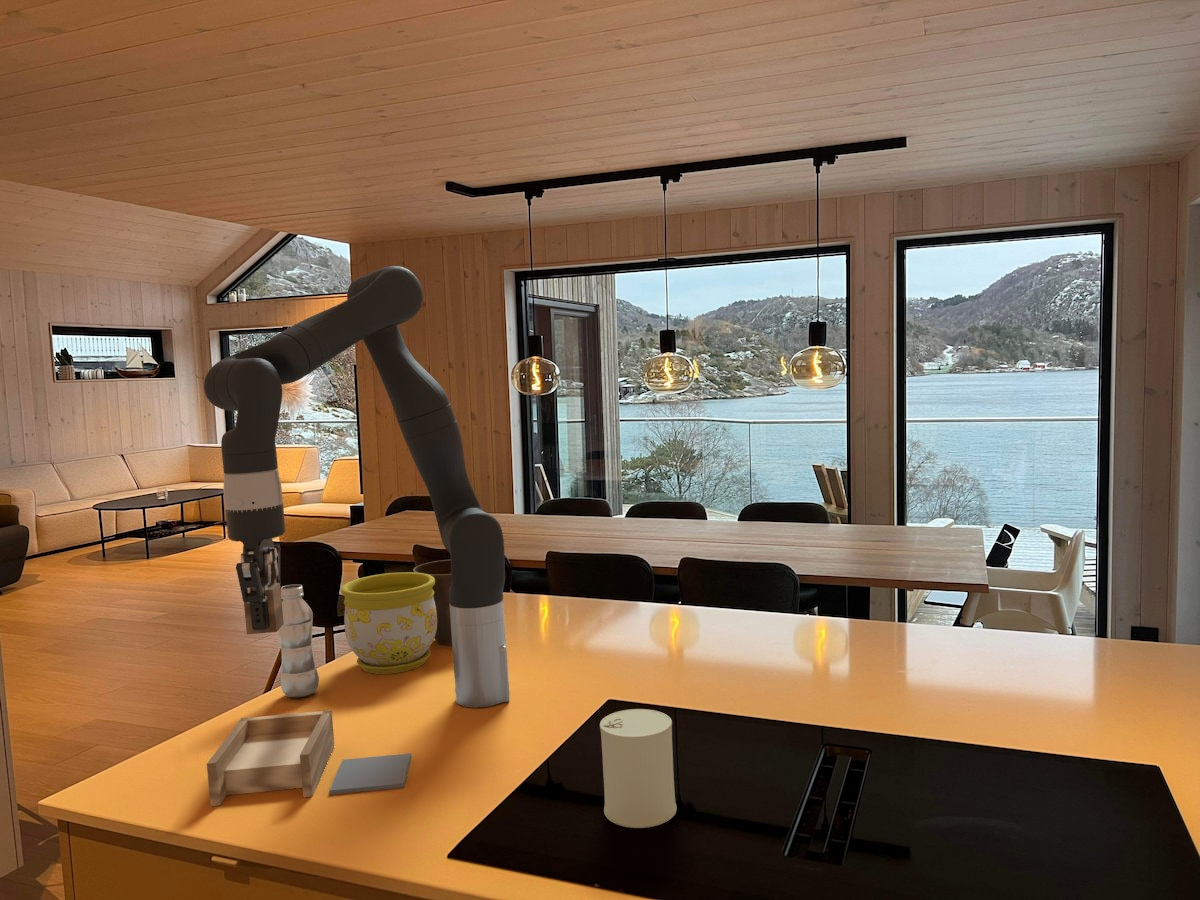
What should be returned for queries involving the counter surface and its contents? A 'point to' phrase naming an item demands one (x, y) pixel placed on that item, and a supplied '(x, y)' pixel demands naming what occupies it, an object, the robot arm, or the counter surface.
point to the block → (273, 610)
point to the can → (638, 768)
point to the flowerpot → (390, 620)
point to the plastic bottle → (297, 644)
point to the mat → (371, 774)
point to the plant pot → (440, 596)
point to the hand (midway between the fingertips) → (265, 623)
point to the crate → (272, 755)
